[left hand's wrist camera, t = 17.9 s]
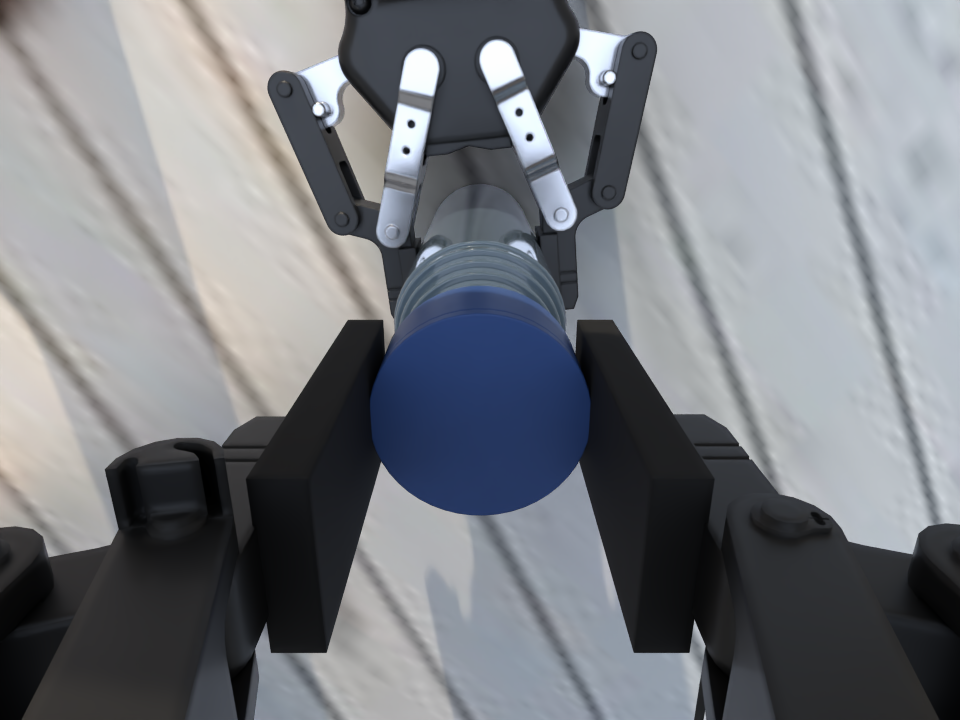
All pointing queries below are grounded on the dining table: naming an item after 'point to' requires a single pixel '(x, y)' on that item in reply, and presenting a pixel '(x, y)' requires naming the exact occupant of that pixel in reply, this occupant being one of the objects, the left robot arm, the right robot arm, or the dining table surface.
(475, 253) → the bottle
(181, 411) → the dining table surface
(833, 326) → the dining table surface
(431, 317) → the cap
